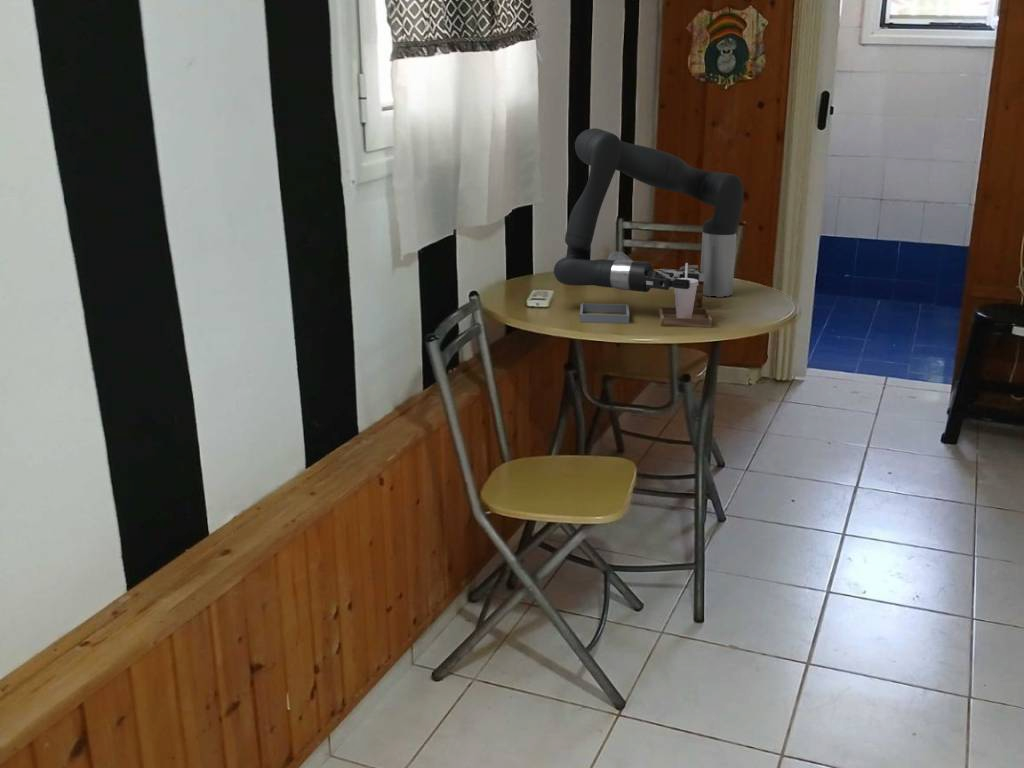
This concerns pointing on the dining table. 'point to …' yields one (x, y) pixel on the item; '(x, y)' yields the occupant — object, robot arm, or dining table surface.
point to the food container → (699, 287)
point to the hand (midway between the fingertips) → (694, 281)
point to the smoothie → (685, 297)
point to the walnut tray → (698, 318)
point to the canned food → (618, 256)
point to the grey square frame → (604, 317)
